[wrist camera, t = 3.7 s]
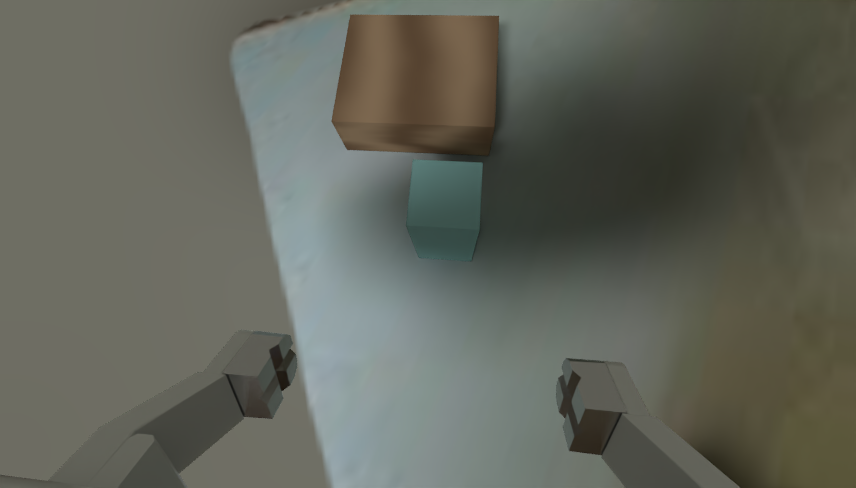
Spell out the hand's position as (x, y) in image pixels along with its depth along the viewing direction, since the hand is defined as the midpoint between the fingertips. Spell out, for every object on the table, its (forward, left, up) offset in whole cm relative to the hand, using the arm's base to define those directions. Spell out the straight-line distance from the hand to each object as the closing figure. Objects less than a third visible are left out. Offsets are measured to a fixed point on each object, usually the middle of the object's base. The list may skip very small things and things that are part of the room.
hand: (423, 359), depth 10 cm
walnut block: (+3, -20, -15) cm, 25 cm away
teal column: (0, -8, -15) cm, 17 cm away
